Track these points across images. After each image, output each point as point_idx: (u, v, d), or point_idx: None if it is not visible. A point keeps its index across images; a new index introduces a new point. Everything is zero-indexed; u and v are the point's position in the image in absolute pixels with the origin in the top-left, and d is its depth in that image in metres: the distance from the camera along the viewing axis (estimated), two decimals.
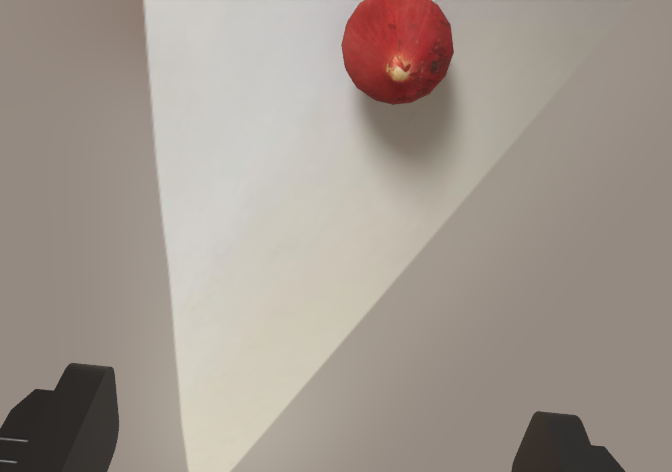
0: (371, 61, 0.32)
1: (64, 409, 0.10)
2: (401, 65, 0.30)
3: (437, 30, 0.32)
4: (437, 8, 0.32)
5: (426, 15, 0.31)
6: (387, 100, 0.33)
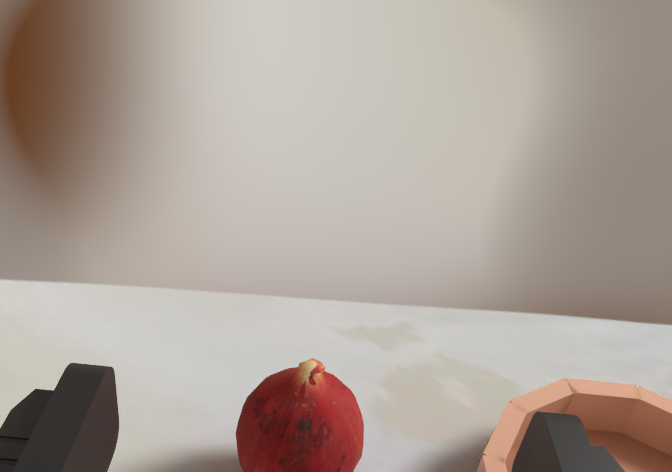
0: None
1: (64, 409, 0.10)
2: (317, 368, 0.27)
3: (339, 440, 0.27)
4: (353, 461, 0.28)
5: (353, 431, 0.28)
6: (254, 396, 0.28)
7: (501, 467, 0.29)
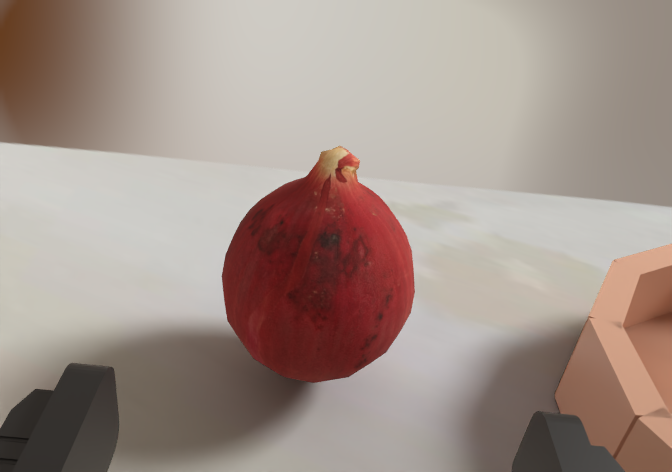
0: None
1: (64, 409, 0.10)
2: (348, 158, 0.17)
3: (383, 269, 0.17)
4: (401, 310, 0.18)
5: (402, 261, 0.18)
6: (250, 213, 0.19)
7: (619, 333, 0.20)
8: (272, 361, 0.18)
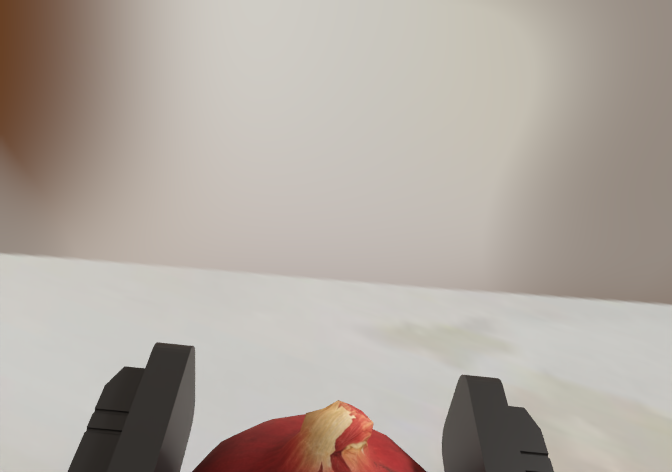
0: None
1: (158, 384, 0.11)
2: (354, 430, 0.10)
3: None
4: None
5: None
6: None
7: None
8: None
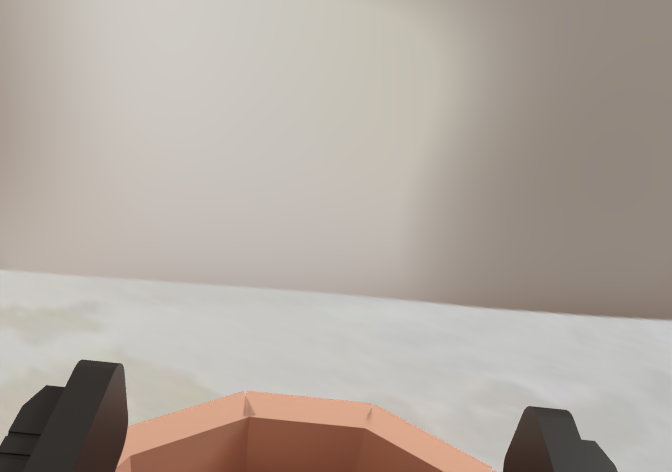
0: None
1: (75, 405, 0.11)
2: None
3: None
4: None
5: None
6: None
7: None
8: None
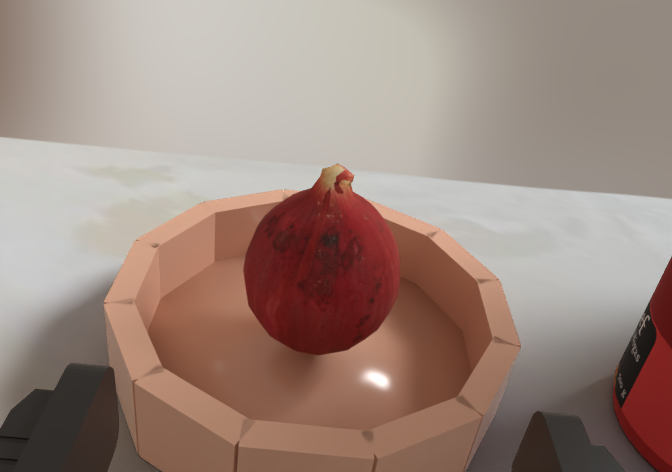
0: None
1: (64, 409, 0.10)
2: (344, 174, 0.22)
3: (373, 262, 0.22)
4: (389, 295, 0.22)
5: (390, 256, 0.22)
6: (265, 218, 0.23)
7: (150, 251, 0.25)
8: (285, 337, 0.22)
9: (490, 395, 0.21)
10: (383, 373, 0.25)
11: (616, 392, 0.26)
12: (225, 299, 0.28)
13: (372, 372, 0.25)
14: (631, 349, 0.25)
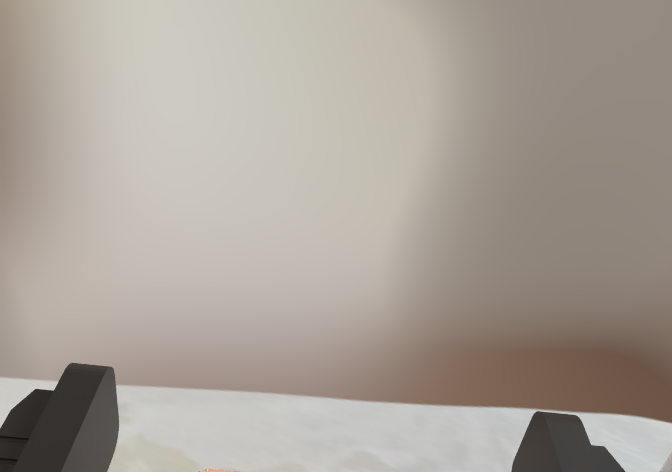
0: None
1: (64, 409, 0.10)
2: None
3: None
4: None
5: None
6: None
7: None
8: None
9: None
10: None
11: None
12: None
13: None
14: None
